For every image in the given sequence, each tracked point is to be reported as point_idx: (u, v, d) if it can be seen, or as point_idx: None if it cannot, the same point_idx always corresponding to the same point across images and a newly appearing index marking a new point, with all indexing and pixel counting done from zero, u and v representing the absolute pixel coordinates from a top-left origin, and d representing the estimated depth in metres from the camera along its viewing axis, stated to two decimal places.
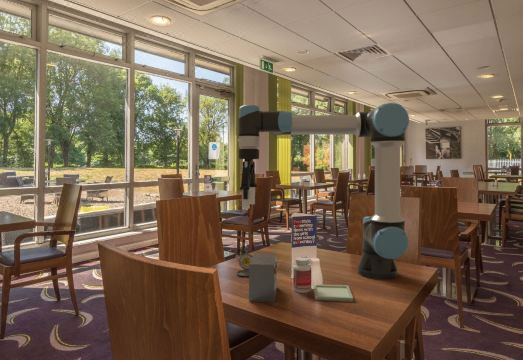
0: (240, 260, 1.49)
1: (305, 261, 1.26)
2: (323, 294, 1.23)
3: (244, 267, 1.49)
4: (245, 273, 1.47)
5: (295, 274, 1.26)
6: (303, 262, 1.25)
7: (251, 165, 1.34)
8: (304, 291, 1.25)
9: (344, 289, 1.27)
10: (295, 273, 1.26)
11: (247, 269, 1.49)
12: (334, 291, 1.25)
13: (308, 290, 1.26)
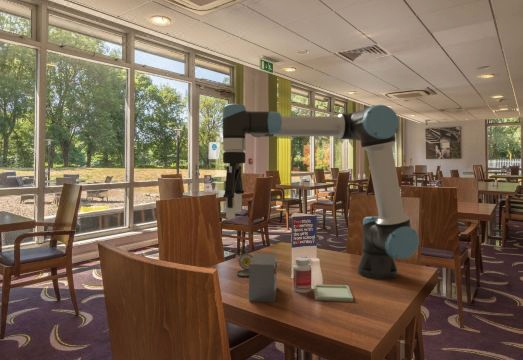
0: (240, 260, 1.49)
1: (305, 261, 1.26)
2: (323, 294, 1.23)
3: (244, 267, 1.49)
4: (245, 273, 1.47)
5: (295, 274, 1.26)
6: (303, 262, 1.25)
7: (236, 170, 1.22)
8: (304, 291, 1.25)
9: (344, 289, 1.27)
10: (295, 273, 1.26)
11: (247, 269, 1.49)
12: (334, 291, 1.25)
13: (308, 290, 1.26)
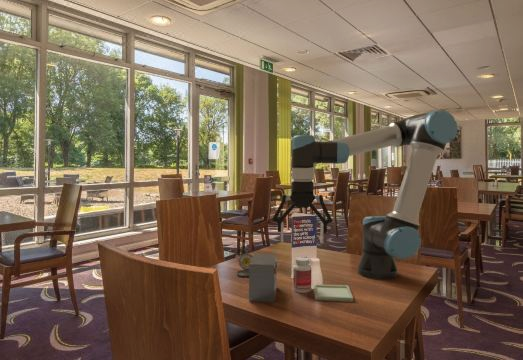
0: (240, 260, 1.49)
1: (305, 261, 1.26)
2: (323, 294, 1.23)
3: (244, 267, 1.49)
4: (245, 273, 1.47)
5: (295, 274, 1.26)
6: (303, 262, 1.25)
7: (296, 198, 1.26)
8: (304, 291, 1.25)
9: (344, 289, 1.27)
10: (295, 273, 1.26)
11: (247, 269, 1.49)
12: (334, 291, 1.25)
13: (308, 290, 1.26)
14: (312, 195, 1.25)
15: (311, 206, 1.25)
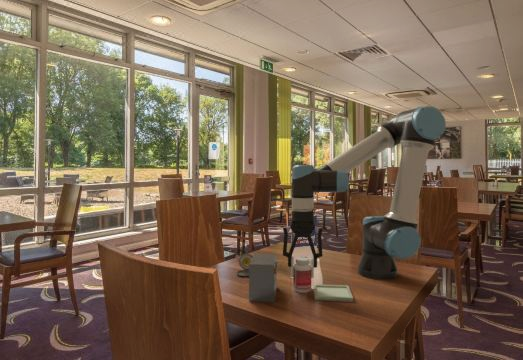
0: (240, 260, 1.49)
1: (305, 261, 1.26)
2: (323, 294, 1.23)
3: (244, 267, 1.49)
4: (245, 273, 1.47)
5: (295, 274, 1.26)
6: (303, 262, 1.25)
7: (296, 229, 1.26)
8: (304, 291, 1.25)
9: (344, 289, 1.27)
10: (295, 273, 1.26)
11: (247, 269, 1.49)
12: (334, 291, 1.25)
13: (308, 290, 1.26)
14: (313, 225, 1.26)
15: (308, 237, 1.25)
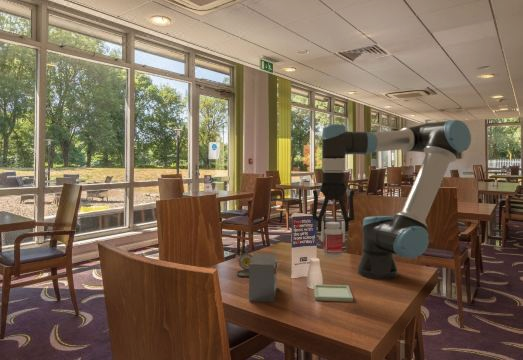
0: (240, 260, 1.49)
1: (336, 224, 1.21)
2: (323, 294, 1.23)
3: (244, 267, 1.49)
4: (245, 273, 1.47)
5: (326, 238, 1.22)
6: (334, 225, 1.21)
7: (327, 191, 1.22)
8: (335, 255, 1.21)
9: (344, 289, 1.27)
10: (326, 237, 1.22)
11: (247, 269, 1.49)
12: (334, 291, 1.25)
13: (339, 255, 1.21)
14: (344, 187, 1.21)
15: (340, 199, 1.21)
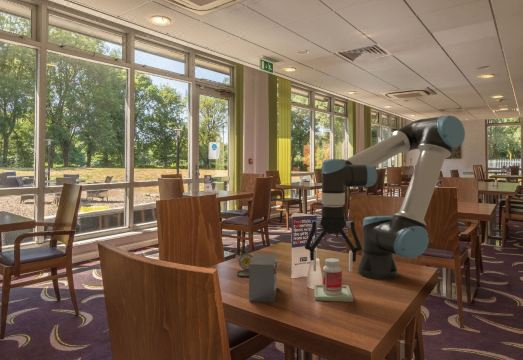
0: (240, 260, 1.49)
1: (335, 262, 1.22)
2: (323, 294, 1.23)
3: (244, 267, 1.49)
4: (245, 273, 1.47)
5: (325, 276, 1.22)
6: (333, 263, 1.22)
7: (327, 224, 1.22)
8: (335, 293, 1.21)
9: (344, 289, 1.27)
10: (325, 275, 1.22)
11: (247, 269, 1.49)
12: None
13: (339, 292, 1.22)
14: (343, 221, 1.22)
15: (342, 232, 1.21)
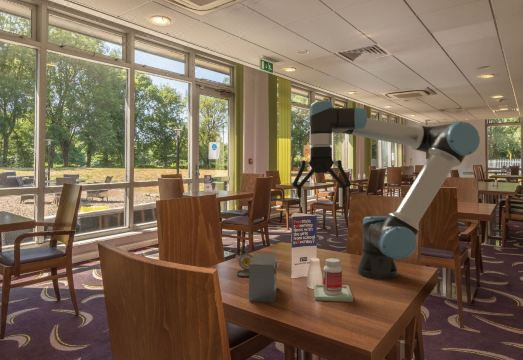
0: (240, 260, 1.49)
1: (336, 262, 1.22)
2: (323, 294, 1.23)
3: (244, 267, 1.49)
4: (245, 273, 1.47)
5: (326, 276, 1.22)
6: (334, 263, 1.22)
7: (316, 164, 1.29)
8: (335, 293, 1.21)
9: (344, 289, 1.27)
10: (325, 275, 1.22)
11: (247, 269, 1.49)
12: None
13: (339, 292, 1.22)
14: (331, 160, 1.29)
15: (330, 171, 1.29)
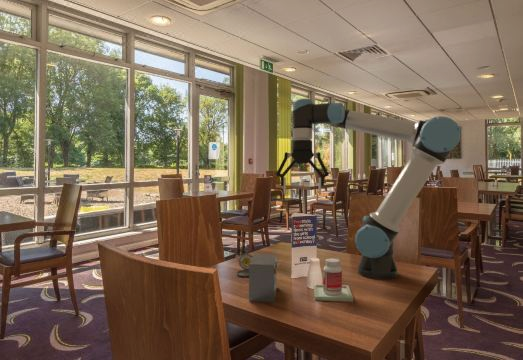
0: (240, 260, 1.49)
1: (336, 262, 1.22)
2: (323, 294, 1.23)
3: (244, 267, 1.49)
4: (245, 273, 1.47)
5: (326, 276, 1.22)
6: (334, 263, 1.22)
7: (297, 155, 1.43)
8: (335, 293, 1.21)
9: (344, 289, 1.27)
10: (325, 275, 1.22)
11: (247, 269, 1.49)
12: None
13: (339, 292, 1.22)
14: (311, 152, 1.43)
15: (310, 162, 1.42)
